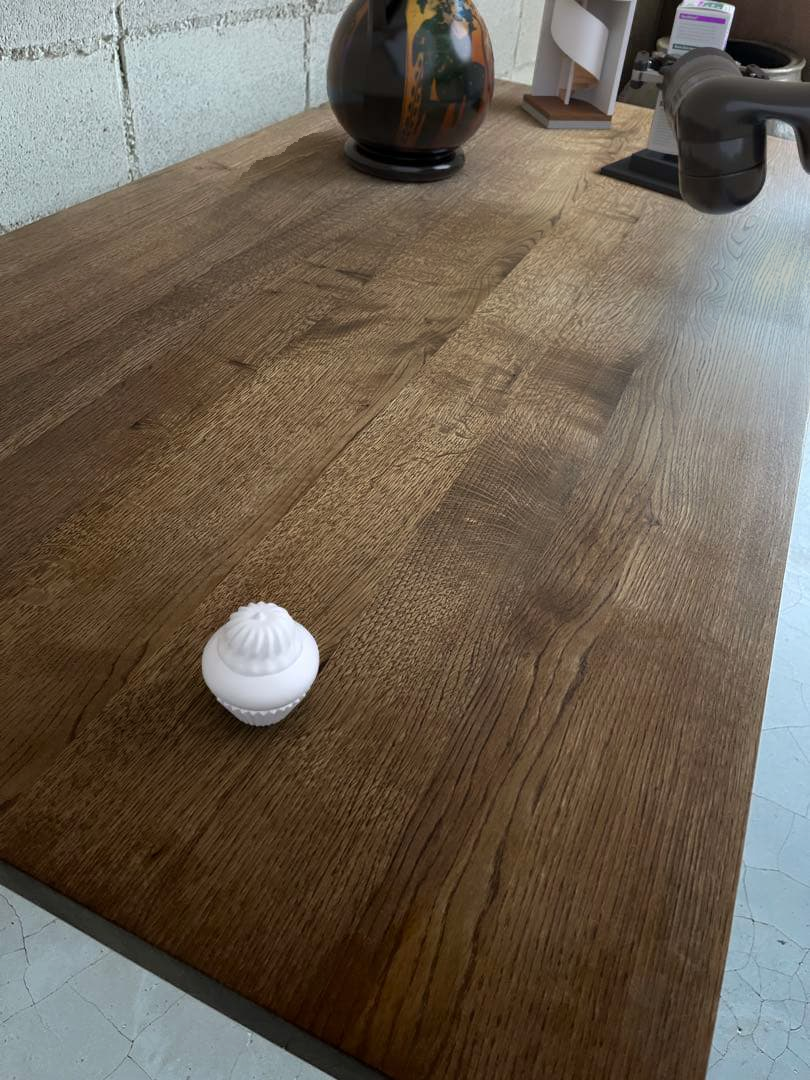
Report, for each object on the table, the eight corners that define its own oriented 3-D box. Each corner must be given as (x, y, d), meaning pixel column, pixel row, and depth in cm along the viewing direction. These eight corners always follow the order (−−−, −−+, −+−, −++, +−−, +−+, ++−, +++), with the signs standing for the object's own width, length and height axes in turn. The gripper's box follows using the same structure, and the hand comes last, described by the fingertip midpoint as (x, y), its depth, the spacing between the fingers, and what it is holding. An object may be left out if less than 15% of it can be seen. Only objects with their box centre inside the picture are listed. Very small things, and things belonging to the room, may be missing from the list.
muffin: (238, 767, 47) (233, 675, 43) (185, 690, 51) (175, 597, 46) (339, 717, 50) (345, 626, 46) (283, 647, 54) (282, 557, 49)
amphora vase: (432, 205, 113) (459, -66, 95) (290, 163, 120) (291, -95, 103) (510, 165, 127) (546, -76, 110) (379, 130, 135) (394, -101, 117)
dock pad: (752, 181, 131) (759, 160, 129) (705, 206, 121) (711, 184, 119) (652, 151, 138) (657, 132, 136) (599, 173, 128) (604, 152, 126)
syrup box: (696, 159, 103) (735, 12, 94) (643, 149, 104) (677, 3, 95) (700, 145, 107) (738, 3, 98) (650, 137, 108) (683, -4, 99)
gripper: (793, 65, 86) (768, 31, 99) (639, 46, 87) (634, 16, 100) (767, 148, 91) (746, 106, 104) (621, 129, 92) (618, 90, 105)
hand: (691, 62), depth 102 cm, fingers closed on syrup box, 6 cm apart
